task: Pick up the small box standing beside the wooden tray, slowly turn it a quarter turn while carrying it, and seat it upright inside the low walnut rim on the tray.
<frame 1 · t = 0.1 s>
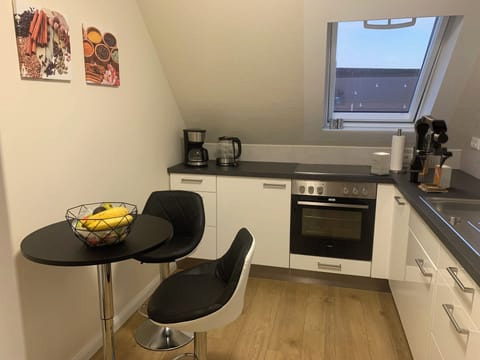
hand: (431, 167, 220), 15 cm above the counter, tool pointing down, fingers open, 9 cm apart
supplement box: (379, 173, 274), on the counter
small box: (441, 186, 237), on the counter
wooden tray: (432, 189, 228), on the counter
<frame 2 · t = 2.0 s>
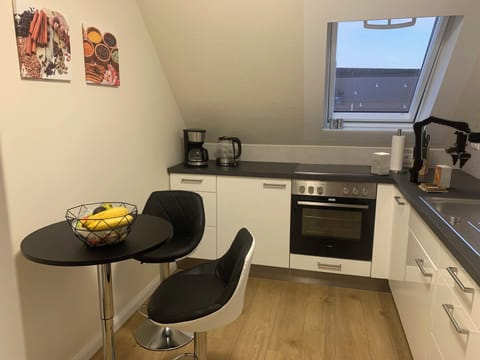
hand: (457, 166, 233), 13 cm above the counter, tool pointing down, fingers open, 9 cm apart
nothing on the counter moved.
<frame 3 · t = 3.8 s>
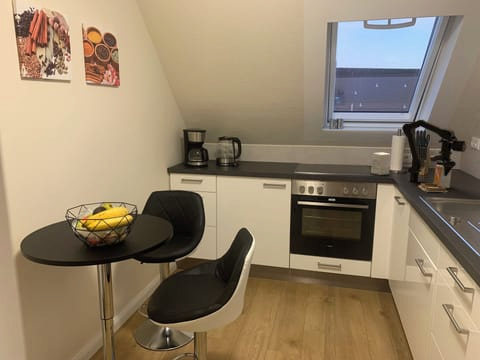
hand: (442, 174, 235), 8 cm above the counter, tool pointing down, fingers closed on small box, 8 cm apart
small box: (441, 186, 237), on the counter, touching gripper
everything else where it was.
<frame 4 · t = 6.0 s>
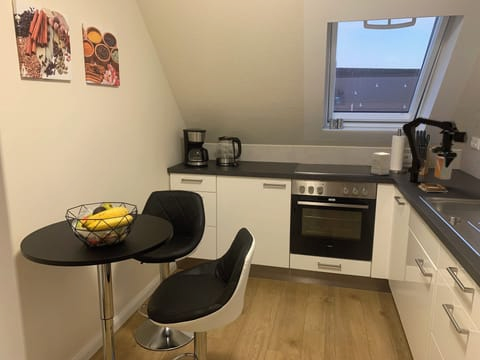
hand: (443, 166, 234), 13 cm above the counter, tool pointing down, fingers closed on small box, 8 cm apart
small box: (442, 178, 236), point 5 cm above the counter, touching gripper
everything else where it was.
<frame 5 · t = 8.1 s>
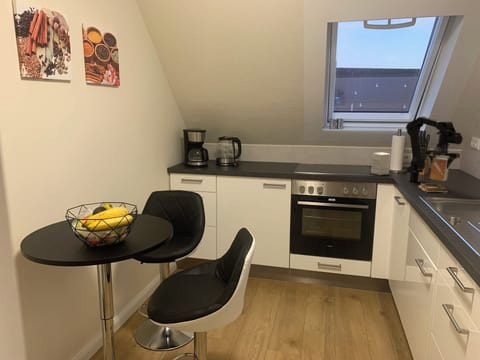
hand: (440, 167, 230), 13 cm above the counter, tool pointing down, fingers closed on small box, 8 cm apart
small box: (438, 179, 232), point 5 cm above the counter, touching gripper
everything else where it was.
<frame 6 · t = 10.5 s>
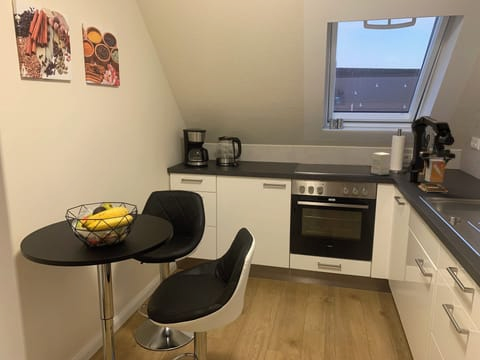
hand: (435, 169, 225), 13 cm above the counter, tool pointing down, fingers closed on small box, 8 cm apart
small box: (433, 181, 227), point 5 cm above the counter, touching gripper
everything else where it was.
when the fingers open (10 cm above the counter, at t = 12.3 s): small box stays where it is, resting on wooden tray.
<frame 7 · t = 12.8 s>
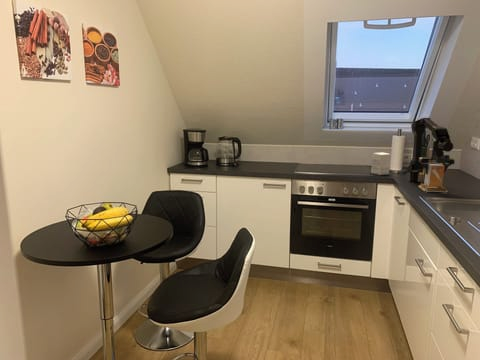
hand: (434, 174, 225), 10 cm above the counter, tool pointing down, fingers open, 9 cm apart
small box: (432, 186, 227), point 2 cm above the counter, touching wooden tray
everything else where it was.
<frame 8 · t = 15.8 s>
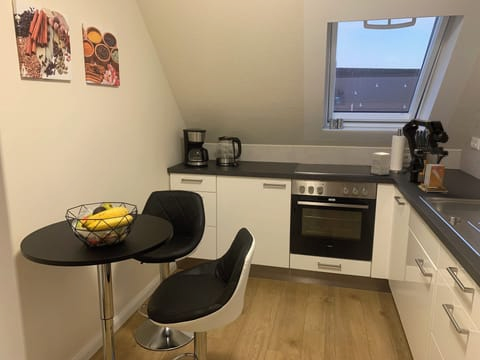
hand: (429, 165, 234), 13 cm above the counter, tool pointing down, fingers open, 9 cm apart
nothing on the counter moved.
at the end: small box 0.2 cm off-centre on the wooden tray, point 2.3 cm above the wooden tray's base; small box tilted 0°; the gripper is holding nothing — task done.
